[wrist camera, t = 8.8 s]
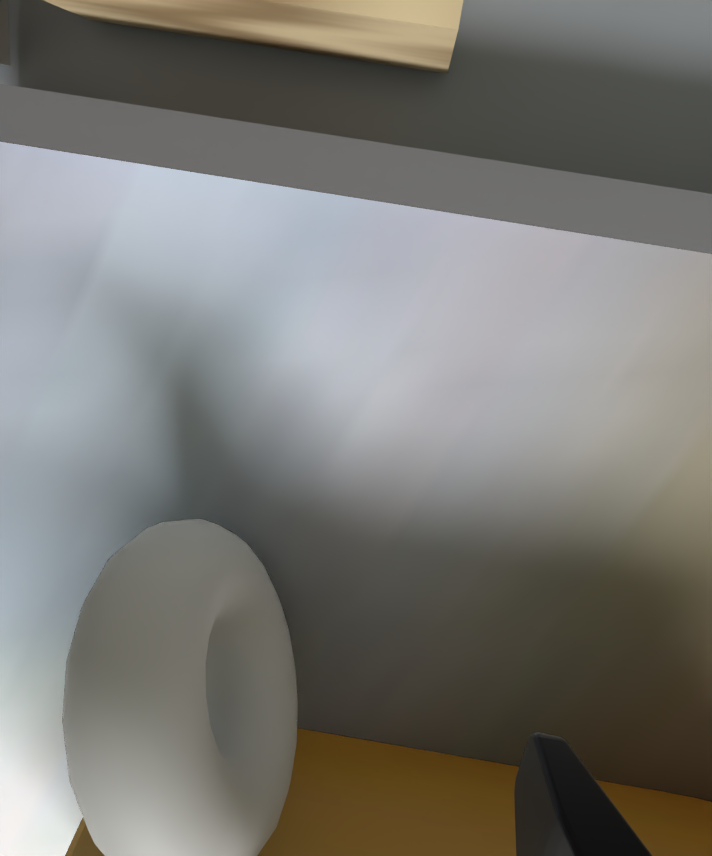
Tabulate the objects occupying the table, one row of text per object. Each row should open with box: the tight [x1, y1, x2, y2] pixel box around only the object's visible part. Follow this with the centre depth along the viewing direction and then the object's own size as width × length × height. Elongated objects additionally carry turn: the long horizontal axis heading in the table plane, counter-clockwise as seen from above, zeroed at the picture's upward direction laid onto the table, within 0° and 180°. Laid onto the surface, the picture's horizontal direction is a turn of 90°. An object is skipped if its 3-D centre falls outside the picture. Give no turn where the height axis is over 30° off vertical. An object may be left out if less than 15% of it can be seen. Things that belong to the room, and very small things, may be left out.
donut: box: [62, 519, 298, 856], centre depth 20 cm, size 10×4×10 cm, turn 15°
